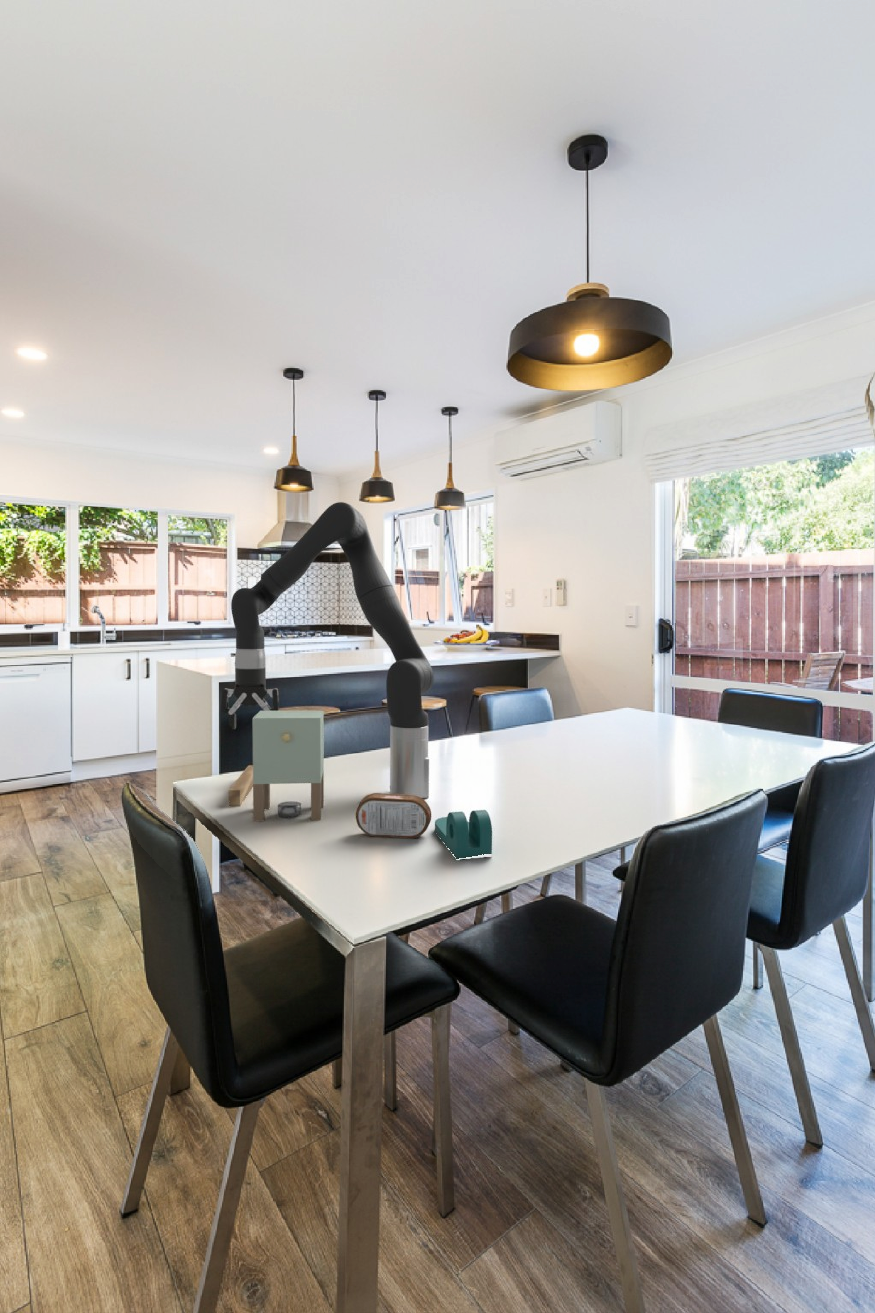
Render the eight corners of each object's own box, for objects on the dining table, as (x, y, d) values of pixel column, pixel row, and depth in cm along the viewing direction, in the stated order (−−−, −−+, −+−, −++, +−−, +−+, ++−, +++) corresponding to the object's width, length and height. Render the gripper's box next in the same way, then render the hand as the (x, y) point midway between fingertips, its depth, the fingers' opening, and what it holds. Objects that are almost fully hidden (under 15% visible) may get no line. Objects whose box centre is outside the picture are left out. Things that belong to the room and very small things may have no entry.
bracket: (491, 858, 116) (492, 816, 116) (456, 861, 115) (457, 819, 114) (462, 826, 134) (462, 789, 133) (431, 828, 132) (431, 791, 131)
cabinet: (323, 805, 146) (323, 710, 144) (320, 821, 135) (320, 718, 133) (261, 807, 144) (260, 710, 143) (252, 823, 133) (251, 719, 132)
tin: (431, 835, 128) (431, 794, 127) (429, 841, 125) (430, 798, 124) (357, 832, 129) (357, 791, 129) (354, 837, 126) (354, 795, 125)
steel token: (302, 811, 142) (302, 801, 142) (299, 819, 137) (299, 808, 137) (279, 812, 141) (279, 801, 141) (276, 819, 137) (276, 808, 136)
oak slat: (258, 780, 168) (258, 765, 168) (240, 807, 145) (239, 790, 145) (248, 780, 168) (248, 765, 168) (228, 807, 145) (228, 790, 144)
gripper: (280, 665, 168) (280, 725, 169) (225, 664, 167) (225, 726, 168) (276, 667, 161) (276, 731, 162) (218, 667, 159) (219, 731, 160)
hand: (250, 728), depth 165 cm, fingers open, 8 cm apart
